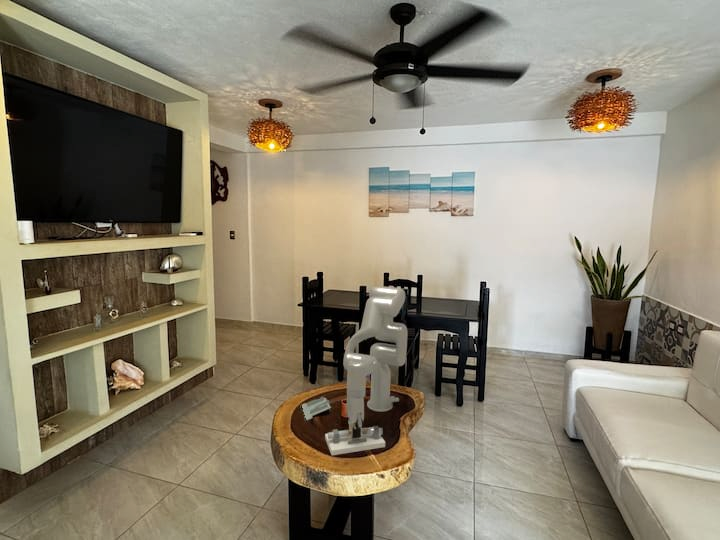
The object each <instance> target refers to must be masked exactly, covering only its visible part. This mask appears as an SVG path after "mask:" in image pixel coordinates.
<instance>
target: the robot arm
mask: <svg viewBox="0 0 720 540" xmlns="http://www.w3.org/2000/svg"><path fill="white" fill-rule="evenodd" d="M368 292H369V293H368V295H369V296H368V297H369V298H368V299H367V300H366V302H365V308H364V312H363V316H362V320H361V321H362V322H361V326H360V329H359V330H358V331H356V332H355V333H354V334H353V335H352V336H351V337H350V338H349V341H348V342H347V343H346V347H345V352H344V356H343V362H342V363H343V367H344V369H345V370H346V371H347V373H346V374H347V375H346V409H345V411H346V415H347V416H348V417H347V418H348V420H349V419H350V421H351V422H352V423H354V428H353V438H359V437H361V429H362V428H363V422H364V420H365V419H364V418H365V401H364V400H365V399H364V398H365V397H366V387H367V386H366V385H367V384H366V383H367V376H370V375H371V376H370V377H371V378H370V399H368V401H366V406H367V408H368V409H369V410H371V411H374V412H378V413H379V412H380V413H382V412H383V413H384V412H388V411H390V410H392V409H393V403H397V402H400V398H399V397H396V396H395V395H391V376H392V372H391V368H390V366H396V367H402V366H403V365H405V363H406V360H407V359H406V358H407V350H408V349H407V348H408V328H407V325H406V324H404V323H401V322H395V321H394V318H395V317H397V316H398V314H399V312H400V310H401V309H402V307H403V305H404V304H405V300H406V292H405V290H404V289H403V288H401V287H395V286H394V287H393V286H383V285H382V286H381V285H379V286H378V285H375V286H372V287H370V288H369V291H368ZM370 338H375V339H376V340H378V341H382V342H376V343H374V344H372V345H371V346H370V349H369V350H370V351H369V354H364V353H358V352H357V353H356V352H355V349H356V348H357V346H358V344H359V343H361V342H363V341H364V340H367V339H370ZM384 342H388V343H394V344H388V343H384ZM389 365H390V366H389ZM356 423H358V424H356Z"/></svg>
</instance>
